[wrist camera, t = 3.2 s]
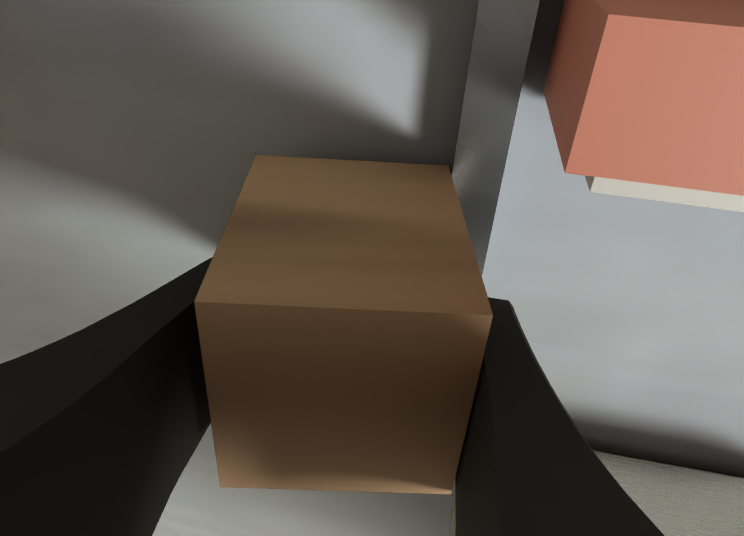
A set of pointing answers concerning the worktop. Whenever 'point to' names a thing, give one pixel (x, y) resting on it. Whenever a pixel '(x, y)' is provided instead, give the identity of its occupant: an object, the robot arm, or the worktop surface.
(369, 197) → the walnut block
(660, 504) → the vise body
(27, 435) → the robot arm
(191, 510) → the worktop surface
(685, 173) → the free jaw
